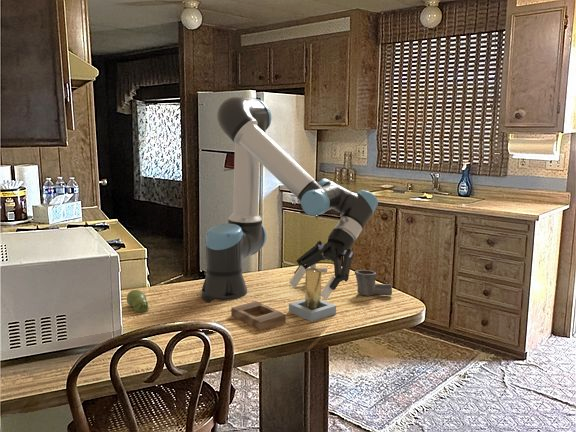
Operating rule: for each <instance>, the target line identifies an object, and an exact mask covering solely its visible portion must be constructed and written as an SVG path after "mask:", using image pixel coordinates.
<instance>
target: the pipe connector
mask: <svg viewBox="0 0 576 432" xmlns="http://www.w3.org/2000/svg"><path fill="white" fill-rule="evenodd" d="M312 268H313V269H320V270H321V274H328V267H317V263H316V264H314V265H312V266H310V267H308V268H306V270H307V269H312Z"/></svg>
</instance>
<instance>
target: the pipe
mask: <svg viewBox="0 0 576 432" xmlns="http://www.w3.org/2000/svg"><path fill="white" fill-rule="evenodd" d="M354 274H355V278H356V284H357V293H358V295H360V296H364V297H369V296H392V295H393V285H392V284H391V283H376V277H377V276H376V275H377V272H376V271H374V270H367V269H356V270H355V271H354Z"/></svg>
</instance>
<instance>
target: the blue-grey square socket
mask: <svg viewBox="0 0 576 432" xmlns="http://www.w3.org/2000/svg"><path fill="white" fill-rule="evenodd" d="M288 313H290V314H292V315H296V316H298V317H300V318H301V319H305V320H307V321H309V322H314V321H315V322H316V321H318V320H321V319H324V318H327V317H330V316H334V315H336V314H337V305H335V304H333V303H331V302H327V300H322V299H320V308H318V309H314V310H310V309H308V308H305V298H304V299H302V300H301V299H300V300H297V301H294V302H290V303H288Z"/></svg>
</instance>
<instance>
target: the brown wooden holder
mask: <svg viewBox="0 0 576 432" xmlns="http://www.w3.org/2000/svg"><path fill="white" fill-rule="evenodd" d="M230 311H231V312H230V313H231V314H230V315H231V317H233V318H234V319H237V321H241V322H242V323H244V324H247V325H248V326H250V327H252V328H254V329H256V330H258V331H260V332H261V331H264V330H265V331H266V330H268V329H272V328H274V327H277V326H280V325H283V324H286V322H287V320H286V319H287V318H286V317H287V315H286V314H285V313H284V312H281V311H279V310H277V309H274V308H272V307H270V306H269V305H266V304H264V303H261V302H258V300H257V301H256V300H255V301H252V302H248V303H244V304H240V305H236V306H233V307H232V306H231V309H230Z"/></svg>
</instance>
